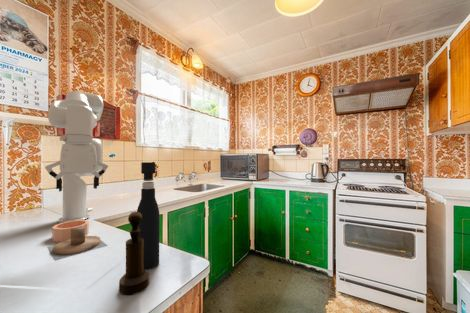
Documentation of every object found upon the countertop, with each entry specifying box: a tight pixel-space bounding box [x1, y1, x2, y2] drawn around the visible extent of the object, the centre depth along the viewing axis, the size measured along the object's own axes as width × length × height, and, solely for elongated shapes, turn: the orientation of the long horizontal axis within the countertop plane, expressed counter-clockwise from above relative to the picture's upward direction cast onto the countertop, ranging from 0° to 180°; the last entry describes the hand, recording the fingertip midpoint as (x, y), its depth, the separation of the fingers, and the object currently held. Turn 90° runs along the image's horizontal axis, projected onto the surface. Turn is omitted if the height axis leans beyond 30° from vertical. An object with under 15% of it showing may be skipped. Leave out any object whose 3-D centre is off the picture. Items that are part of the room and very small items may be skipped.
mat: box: [47, 239, 108, 261], centre depth 70 cm, size 14×14×1 cm
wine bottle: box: [136, 161, 161, 271], centre depth 59 cm, size 6×6×30 cm
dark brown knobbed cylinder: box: [118, 211, 150, 296], centre depth 49 cm, size 7×6×18 cm
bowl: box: [51, 219, 90, 243], centre depth 80 cm, size 11×11×5 cm
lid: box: [53, 227, 101, 255], centre depth 70 cm, size 13×13×6 cm
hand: (78, 189), depth 71 cm, fingers open, 9 cm apart
